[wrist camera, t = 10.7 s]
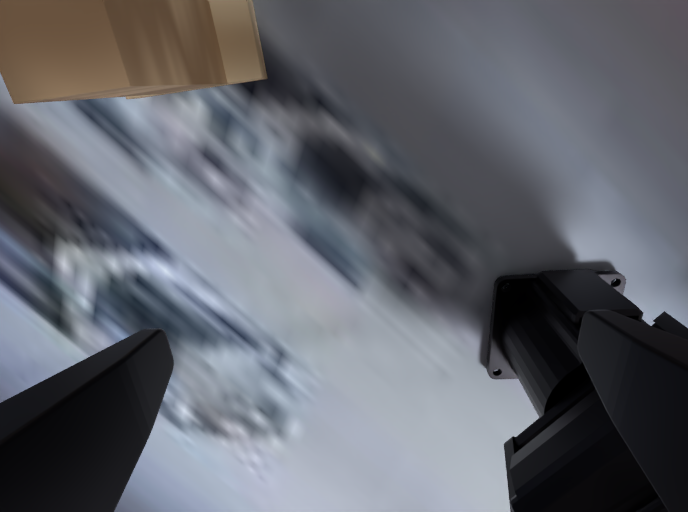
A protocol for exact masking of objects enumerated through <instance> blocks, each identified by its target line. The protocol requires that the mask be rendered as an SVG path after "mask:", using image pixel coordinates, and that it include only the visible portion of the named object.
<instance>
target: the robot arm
mask: <svg viewBox="0 0 688 512" xmlns="http://www.w3.org/2000/svg"><path fill="white" fill-rule="evenodd" d="M614 279H616V281H615V282H614V283H611V281H612V280H614ZM506 283H508V284H509V285H508V287H506V288H504V289H503V288H502V286H503V285H504V284H506ZM625 284H626V279H625V277H624V276H623V275H622V274H620V273H619V272H617V271H597V272H593V271H592V270H591V269H578V270H556V271H542V272H540V273H538V274H532V275H510V276H501V277H500V278H498V279H497V280H496V281H495V284H494V294H493V304H492V315H491V325H490V336H489V346H488V357H487V367H486V369H487V372H488V374H489V376H490V377H491V378H492V379H519V381H520V383H521V384H522V386H523V388H524V390H525V392H526V394H527V395H528V397H529V399H530V401H531V403H532V404H533V406H534V408H535V410H536V412H537V414H538V415H539V417H540V418H539V419H538V420H536V421H535V422H534V423H533V424H531V425H530V426H529V427H528V428H527V429H525V430H524V431H523V432H522V433H520V434H519V435H518V436H517V437H512V438H510V439H509V440H508V441H507V442H505V443H504V450H505V460H506V470H507V480H508V490H509V500H510V510H511V512H688V328H687V327H685V326H684V325H682V324H681V323H680V322H678V321H677V320H676V319H674V318H673V317H671V316H670V315H669V314H667V313H666V312H665V311H664V312H663V313H662V314H661V315H659V316H658V317H657V318H656V319H655V320H653V321H654V322H655V323H654V324H653V325H652V326H650V325H648V324H647V323H646V322H645V321H644V320H642V316H643V312H642V311H641V310H640V309H639V308H638V307H637V306H636V305H635V304H633V303H632V302H631V301H630V300H628V299H627V298H626V297H625V296H623V292H624V288H625ZM173 366H174V360H173V356H172V352H171V349H170V345H169V342H168V338H167V335H166V333H165V331H164V330H162V329H160V328H157V329H143V330H141V331H139V332H137V333H135V334H133V335H131V336H129V337H127V338H125V339H123V340H121V341H119V342H118V343H116V344H114V345H112V346H110V347H108V348H106V349H104V350H102V351H100V352H98V353H96V354H94V355H92V356H90V357H88V358H87V359H85V360H83V361H81V362H79V363H77V364H75V365H73V366H71V367H69V368H67V369H65V370H63V371H61V372H59V373H57V374H56V375H54V376H52V377H50V378H48V379H46V380H44V381H42V382H40V383H38V384H36V385H34V386H32V387H30V388H28V389H26V390H25V391H23V392H21V393H19V394H17V395H15V396H13V397H11V398H9V399H7V400H5V401H3V402H1V403H0V512H114V510H115V508H116V506H117V504H118V502H119V500H120V498H121V496H122V493H123V491H124V489H125V487H126V485H127V483H128V481H129V479H130V476H131V474H132V472H133V470H134V468H135V466H136V464H137V462H138V459H139V457H140V455H141V453H142V451H143V449H144V447H145V444H146V442H147V440H148V438H149V435H150V433H151V431H152V428H153V425H154V423H155V420H156V417H157V414H158V411H159V409H160V406H161V403H162V400H163V397H164V394H165V391H166V388H167V385H168V383H169V380H170V377H171V374H172V371H173ZM495 369H499V370H498V371H494V370H495Z"/></svg>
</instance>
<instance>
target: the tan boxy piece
mask: <svg viewBox="0 0 688 512" xmlns="http://www.w3.org/2000/svg"><path fill="white" fill-rule="evenodd" d="M0 73H1V75H2V77H3V80H4V82H5V84H6V87H7V89H8V91H9V94H10V96H11V98H12V100H13V103H14V104H23V103H37V102H52V101H67V100H81V99H96V98H111V97H126V99H135V98H143V97H150V96H157V95H163V94H170V93H177V92H183V91H190V90H197V89H203V88H210V87H217V86H223V85H230V84H237V83H243V82H250V81H257V80H263V79H267V74H266V68H265V63H264V58H263V53H262V48H261V42H260V37H259V32H258V27H257V22H256V16H255V11H254V6H253V1H252V0H0Z"/></svg>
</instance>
